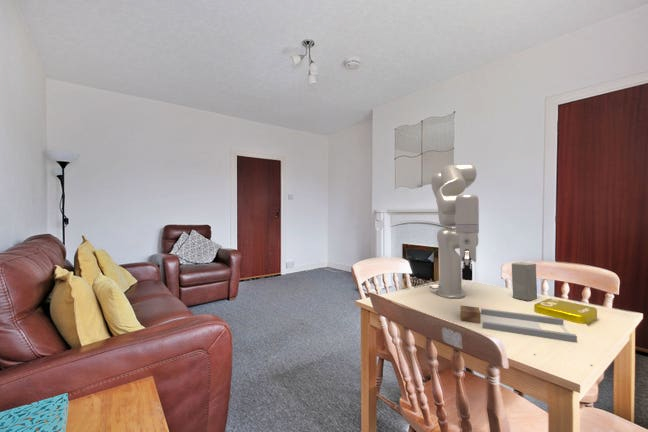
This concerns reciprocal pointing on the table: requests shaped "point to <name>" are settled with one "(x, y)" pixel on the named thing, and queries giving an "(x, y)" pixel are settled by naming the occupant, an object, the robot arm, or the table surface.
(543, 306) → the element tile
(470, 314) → the walnut block
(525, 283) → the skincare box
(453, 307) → the table surface
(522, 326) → the grey rail tray
